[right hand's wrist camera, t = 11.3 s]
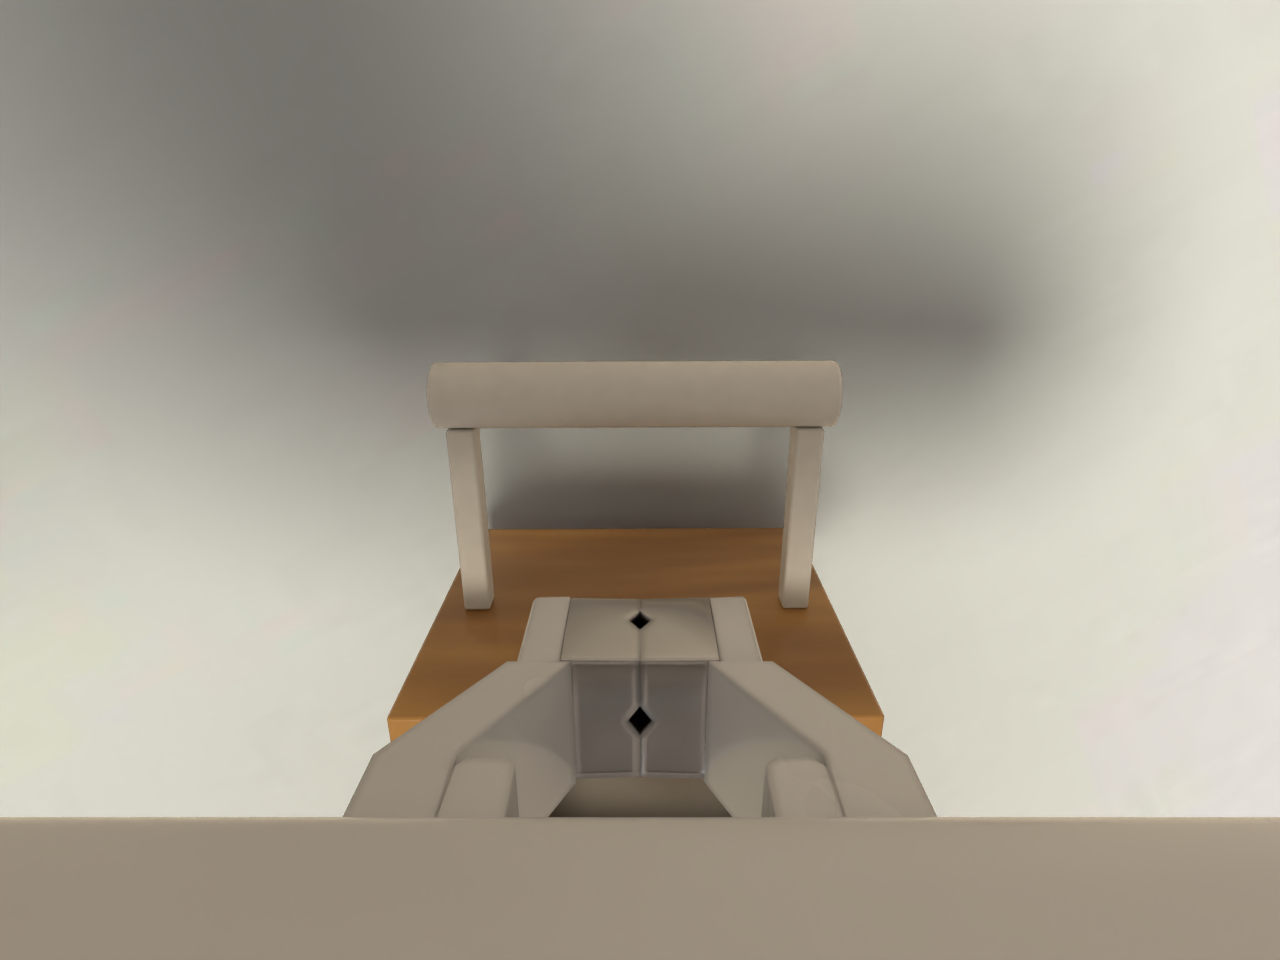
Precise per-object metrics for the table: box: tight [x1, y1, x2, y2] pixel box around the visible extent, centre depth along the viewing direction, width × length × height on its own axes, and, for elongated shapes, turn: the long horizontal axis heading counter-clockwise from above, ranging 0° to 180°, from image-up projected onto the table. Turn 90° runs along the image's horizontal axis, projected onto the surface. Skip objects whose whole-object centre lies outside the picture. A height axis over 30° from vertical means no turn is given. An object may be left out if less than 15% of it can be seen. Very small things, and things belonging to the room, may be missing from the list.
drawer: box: [387, 361, 884, 817], centre depth 19 cm, size 25×9×8 cm, turn 0°
